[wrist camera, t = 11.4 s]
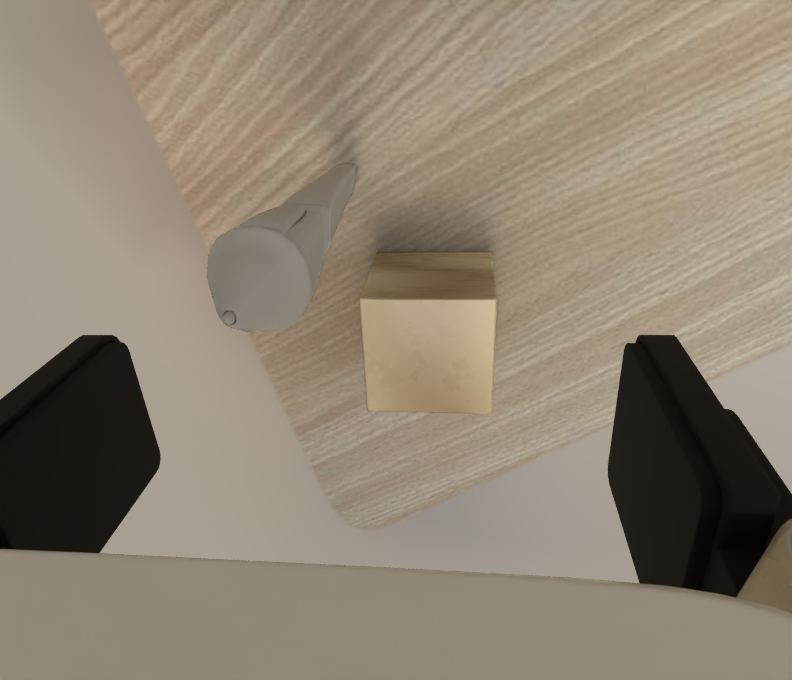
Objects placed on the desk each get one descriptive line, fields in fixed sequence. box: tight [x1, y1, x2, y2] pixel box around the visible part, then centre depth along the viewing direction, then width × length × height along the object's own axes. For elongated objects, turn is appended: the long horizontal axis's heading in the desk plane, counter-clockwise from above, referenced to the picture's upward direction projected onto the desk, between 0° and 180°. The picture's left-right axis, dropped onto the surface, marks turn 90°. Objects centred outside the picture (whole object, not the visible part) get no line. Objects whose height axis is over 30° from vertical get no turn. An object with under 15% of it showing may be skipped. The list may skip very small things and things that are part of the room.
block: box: [359, 252, 497, 414], centre depth 25 cm, size 5×5×5 cm
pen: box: [207, 164, 356, 332], centre depth 18 cm, size 2×3×14 cm
